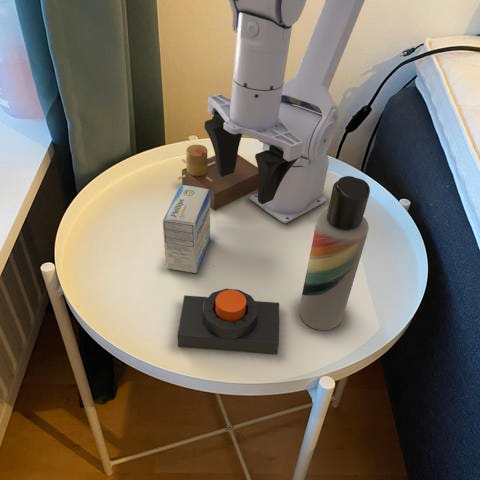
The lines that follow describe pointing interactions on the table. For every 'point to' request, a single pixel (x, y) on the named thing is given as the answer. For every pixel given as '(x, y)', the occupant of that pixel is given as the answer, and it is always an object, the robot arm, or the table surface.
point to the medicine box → (187, 228)
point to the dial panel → (224, 181)
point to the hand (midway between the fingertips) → (245, 187)
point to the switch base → (229, 326)
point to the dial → (196, 160)
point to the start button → (230, 305)
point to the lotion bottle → (335, 254)
